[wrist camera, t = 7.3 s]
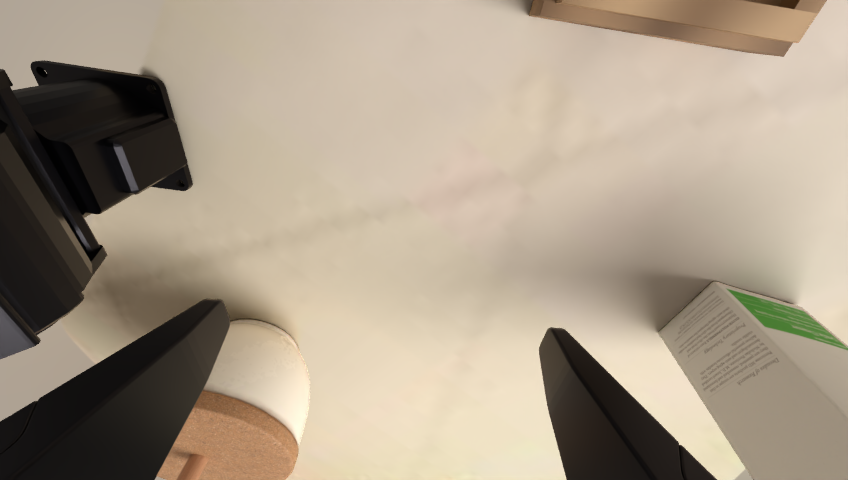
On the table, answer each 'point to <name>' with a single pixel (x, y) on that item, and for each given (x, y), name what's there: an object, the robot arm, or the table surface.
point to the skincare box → (767, 381)
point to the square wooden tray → (695, 20)
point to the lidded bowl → (246, 410)
